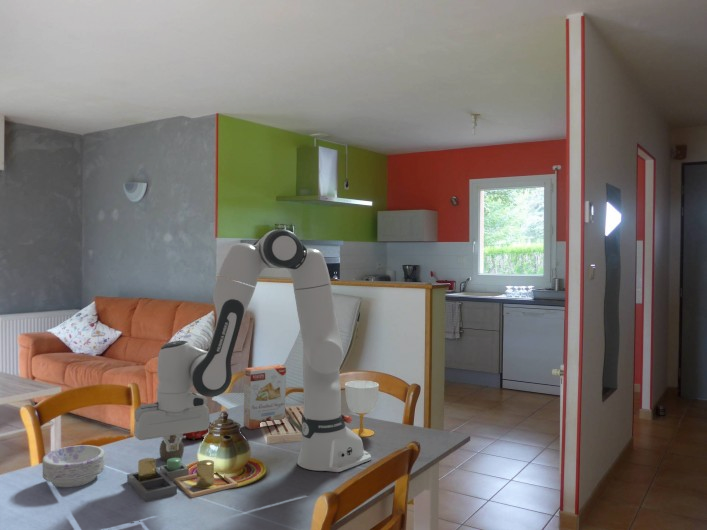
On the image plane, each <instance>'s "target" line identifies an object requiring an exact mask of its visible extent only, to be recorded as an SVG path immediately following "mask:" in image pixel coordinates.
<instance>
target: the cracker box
mask: <svg viewBox="0 0 707 530" xmlns="http://www.w3.org/2000/svg"><path fill="white" fill-rule="evenodd" d="M243 376H244V378H243V379H244V380H243V381H244V383H243V386H244V387H243V426H244V427H245V428H247V429H249V430H254V429H259V428H260V423H261V422H266V421H274V420H281V419H284V418H285V419H286V388H287V387H286V384H287V380H286V379H287V367H285V366H284V365H281V364H274V365H264V366H263V365H262V366H253V367H244V375H243ZM260 429H261V428H260Z"/></svg>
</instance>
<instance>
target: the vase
mask: <svg viewBox="0 0 707 530" xmlns="http://www.w3.org/2000/svg"><path fill="white" fill-rule="evenodd" d="M176 438H177V436H175V435H171V436H170V439H169V440H168V441H169V443H174V442H175V440H176ZM184 452H185V446H184V443H183V439H182V440H181V442H180V443H179V450H175V451H170V452H168V451H167V450H166V443H165V442H164V440H163V439H162V441H161V443H160V445H159V457H160V459H161V460H162V461H163V462H167V460H168V459H170V458H180V459H181V460H182V458H183V456H184Z"/></svg>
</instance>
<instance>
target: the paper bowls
mask: <svg viewBox="0 0 707 530" xmlns="http://www.w3.org/2000/svg"><path fill="white" fill-rule="evenodd" d="M105 454H106V451H105V450H104V449H103V448H102V447H100V446H97V445H91V444H79V445H78V444H77V445H76V444H75V445H71V446H65V447H60V448H56V449H55V450H51V451H50V452H48V453H46V454H45V455H44V456H43V457H42V478H43V480H44V481H46V482H49V483H51V484H52V485H53V487H54V488H57V487H58V488H73V487H79V486H84V485H86V484H90V483H91V482H93V481H94V480H95V479H96V478H97V476H98V475H100V474H102V473H103V472H104V471H105V467H106V460H105V458H106V456H105Z"/></svg>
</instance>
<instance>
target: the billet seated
mask: <svg viewBox="0 0 707 530" xmlns="http://www.w3.org/2000/svg"><path fill="white" fill-rule="evenodd" d="M137 463H138V464H137V465H138V466H137V467H138V471H137V472H138V481H139V482H142V481H146V480H151V479H155V478H156V468H157V459H156V458H154V457H145V458H142V459H139V460H138V461H137Z"/></svg>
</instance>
